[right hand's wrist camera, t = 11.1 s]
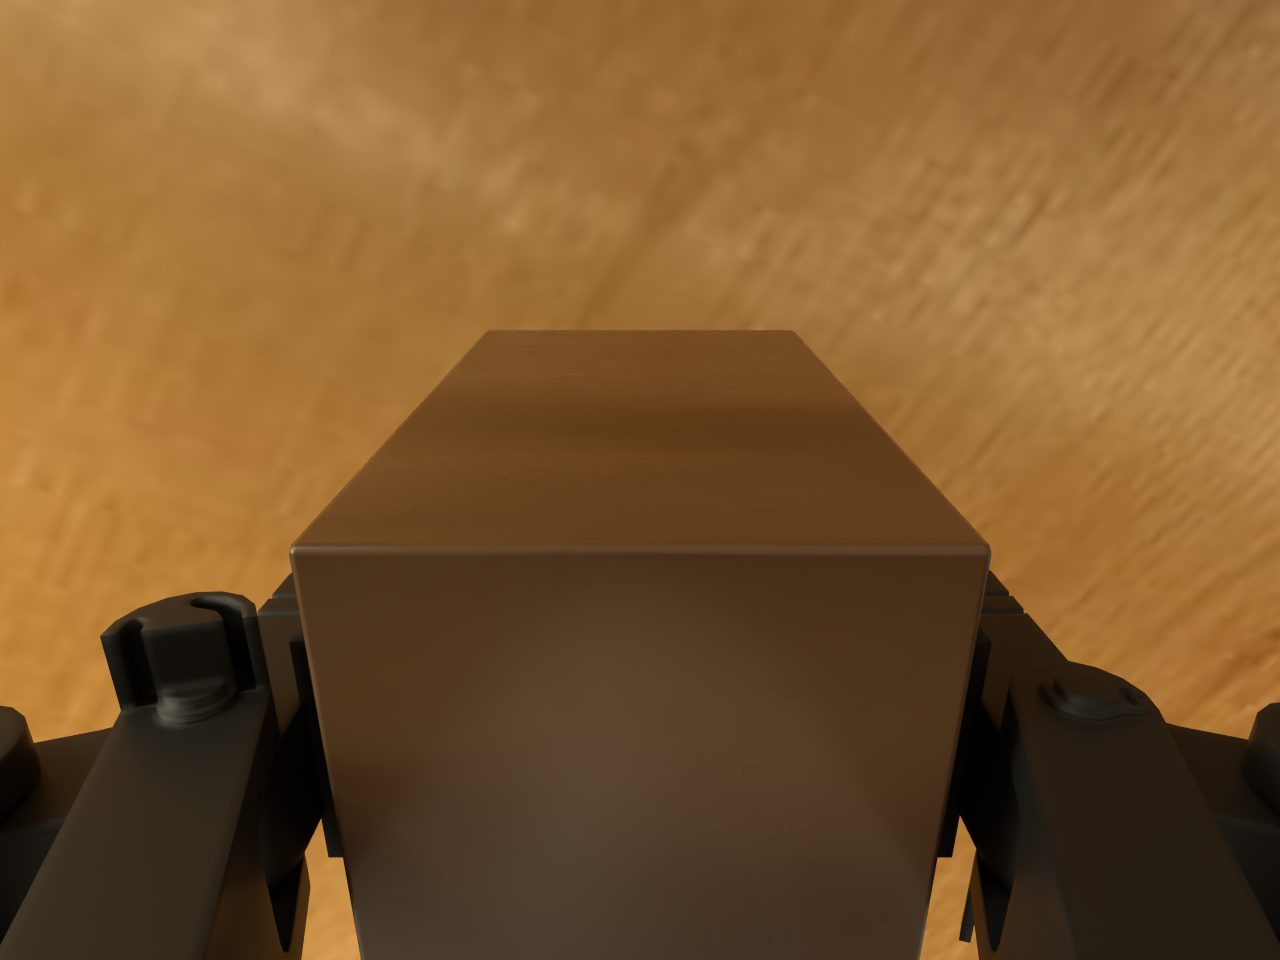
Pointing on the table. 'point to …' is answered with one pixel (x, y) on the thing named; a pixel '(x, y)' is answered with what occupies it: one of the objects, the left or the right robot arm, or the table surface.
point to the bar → (640, 659)
